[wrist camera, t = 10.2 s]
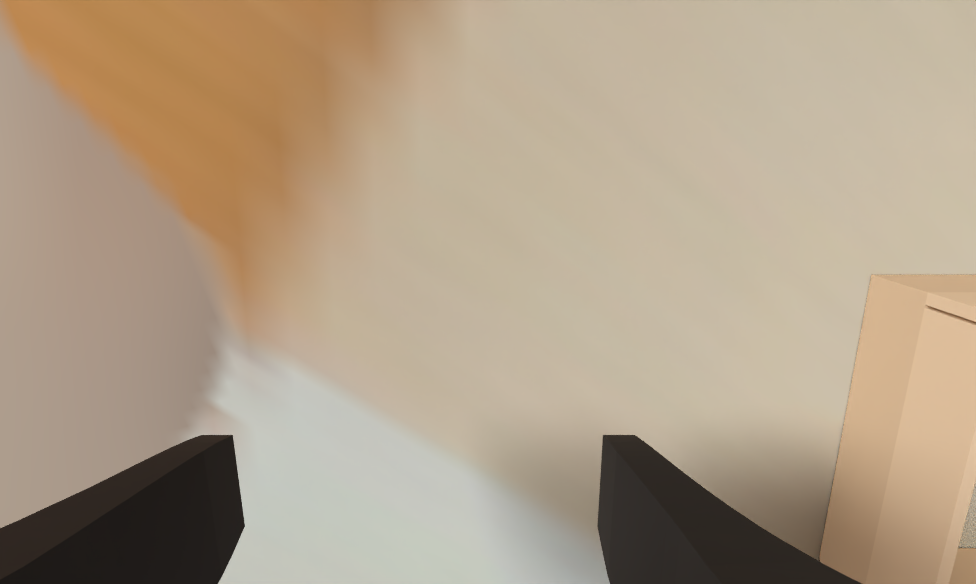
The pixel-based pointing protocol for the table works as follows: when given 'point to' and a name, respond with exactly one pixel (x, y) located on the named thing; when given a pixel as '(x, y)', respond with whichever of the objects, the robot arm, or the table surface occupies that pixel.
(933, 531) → the wooden drawer
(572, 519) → the table surface
